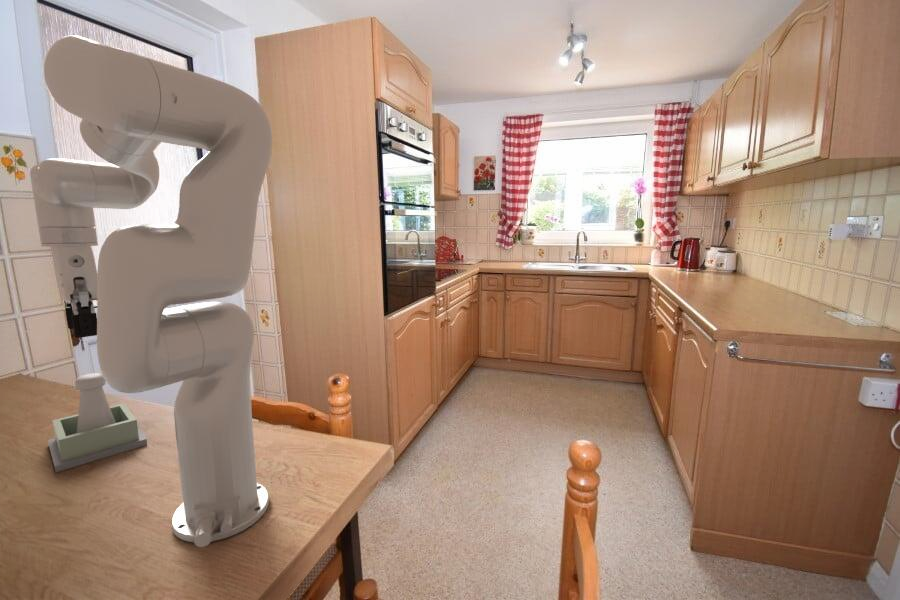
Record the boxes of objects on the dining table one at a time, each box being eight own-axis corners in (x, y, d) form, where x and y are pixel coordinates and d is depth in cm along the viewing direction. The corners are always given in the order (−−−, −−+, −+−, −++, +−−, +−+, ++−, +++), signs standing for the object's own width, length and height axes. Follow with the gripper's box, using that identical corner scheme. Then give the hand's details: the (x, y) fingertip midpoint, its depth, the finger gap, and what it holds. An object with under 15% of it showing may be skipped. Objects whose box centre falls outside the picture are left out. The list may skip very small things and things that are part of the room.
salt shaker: (95, 449, 77) (85, 381, 75) (70, 445, 78) (59, 379, 76) (125, 434, 82) (117, 371, 80) (101, 431, 84) (92, 369, 81)
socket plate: (147, 444, 81) (144, 419, 80) (55, 472, 71) (51, 444, 71) (132, 423, 90) (129, 400, 89) (48, 445, 80) (44, 420, 79)
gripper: (105, 238, 71) (118, 336, 74) (89, 237, 82) (101, 321, 85) (44, 238, 65) (60, 344, 68) (36, 237, 77) (50, 328, 80)
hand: (83, 331), depth 77 cm, fingers open, 9 cm apart
